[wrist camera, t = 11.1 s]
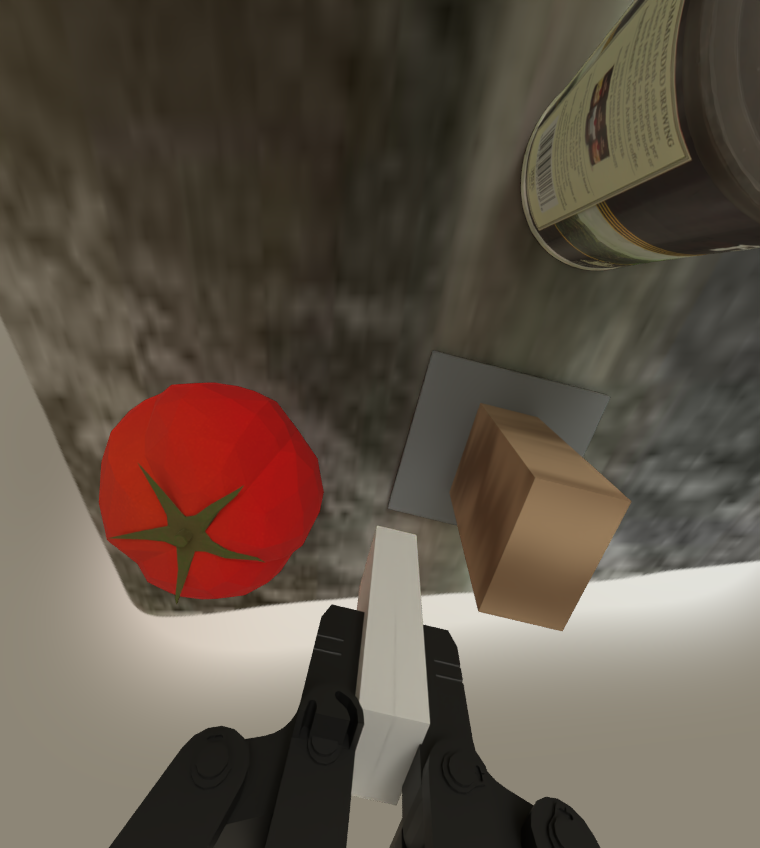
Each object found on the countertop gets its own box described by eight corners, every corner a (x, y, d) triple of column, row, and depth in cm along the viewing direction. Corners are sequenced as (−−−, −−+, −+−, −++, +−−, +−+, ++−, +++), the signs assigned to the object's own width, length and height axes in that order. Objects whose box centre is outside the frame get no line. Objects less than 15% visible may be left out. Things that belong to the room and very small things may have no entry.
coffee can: (737, 200, 22) (1280, 49, 8) (566, 304, 24) (775, 318, 11) (671, 6, 19) (1297, -661, 6) (486, 143, 21) (630, -108, 8)
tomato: (331, 537, 30) (297, 656, 20) (179, 524, 31) (71, 635, 21) (335, 371, 26) (294, 419, 16) (157, 358, 26) (8, 398, 16)
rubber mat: (432, 350, 25) (433, 351, 25) (606, 394, 25) (610, 396, 25) (388, 504, 29) (387, 508, 28) (539, 541, 29) (541, 545, 29)
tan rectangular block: (480, 402, 25) (535, 477, 15) (537, 417, 26) (631, 501, 15) (449, 492, 28) (478, 611, 17) (502, 505, 28) (562, 631, 17)
